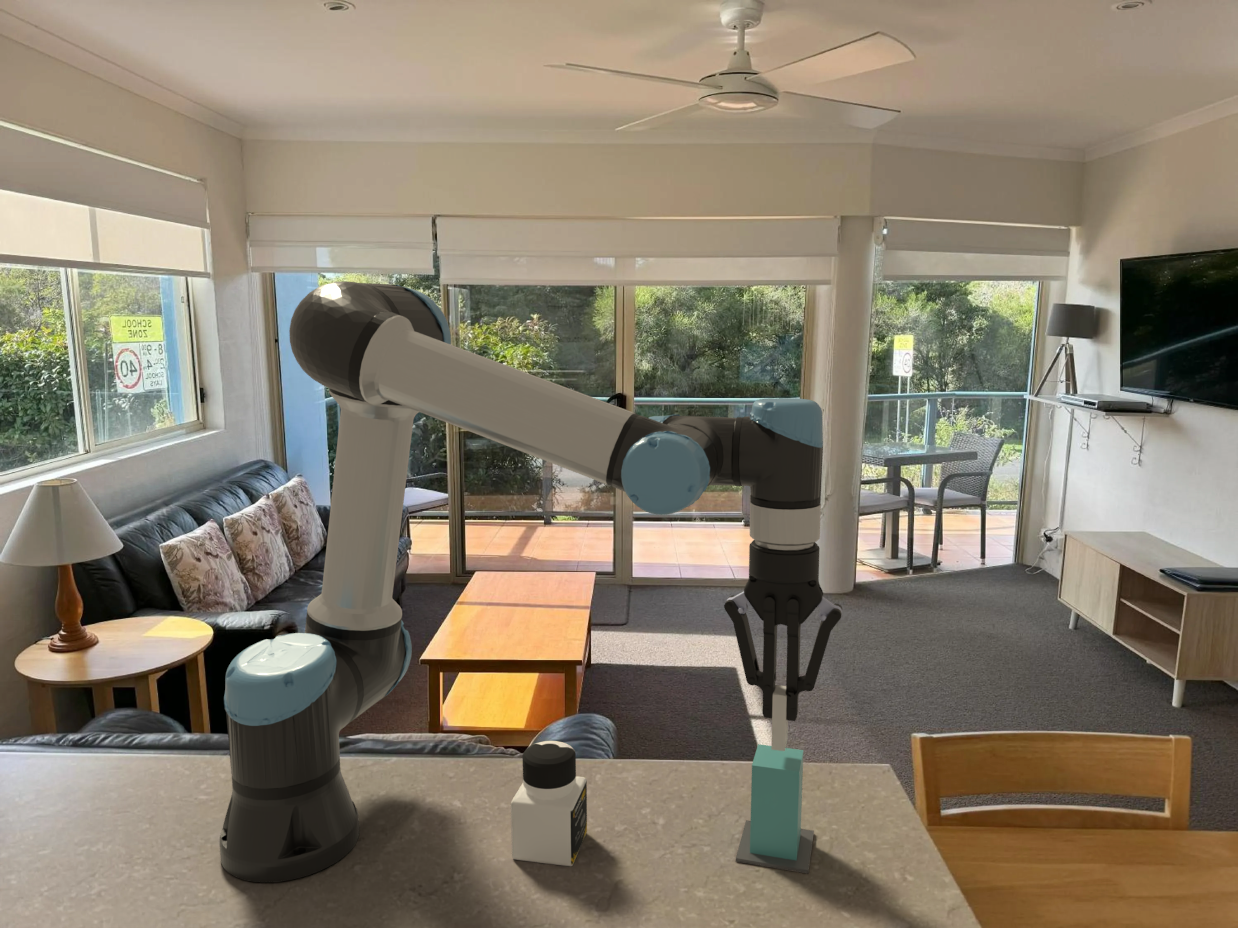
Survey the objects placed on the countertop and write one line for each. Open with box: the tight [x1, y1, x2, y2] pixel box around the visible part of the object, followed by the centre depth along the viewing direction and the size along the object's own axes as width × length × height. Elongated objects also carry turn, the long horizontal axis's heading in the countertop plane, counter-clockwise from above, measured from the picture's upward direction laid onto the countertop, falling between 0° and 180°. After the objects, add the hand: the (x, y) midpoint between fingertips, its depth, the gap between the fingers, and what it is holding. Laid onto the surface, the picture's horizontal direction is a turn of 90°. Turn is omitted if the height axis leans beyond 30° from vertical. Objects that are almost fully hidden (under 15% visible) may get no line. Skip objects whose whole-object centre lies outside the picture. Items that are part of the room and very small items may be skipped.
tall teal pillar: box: [750, 743, 804, 861], centre depth 101 cm, size 5×5×11 cm
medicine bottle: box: [510, 740, 588, 867], centre depth 101 cm, size 7×7×12 cm
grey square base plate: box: [735, 819, 815, 874], centre depth 101 cm, size 8×8×7 cm
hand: (779, 744), depth 100 cm, fingers closed
